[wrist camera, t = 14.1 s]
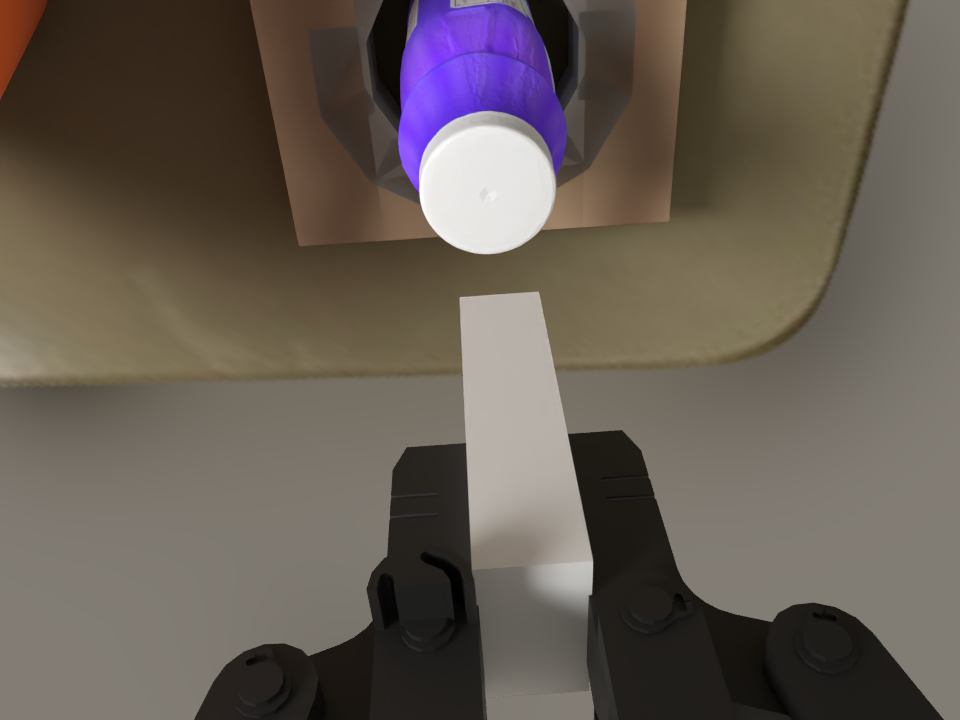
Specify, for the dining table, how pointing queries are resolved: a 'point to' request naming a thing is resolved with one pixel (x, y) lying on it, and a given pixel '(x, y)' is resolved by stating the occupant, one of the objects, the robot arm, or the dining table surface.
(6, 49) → the flowerpot
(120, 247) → the dining table surface
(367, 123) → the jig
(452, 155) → the bottle
